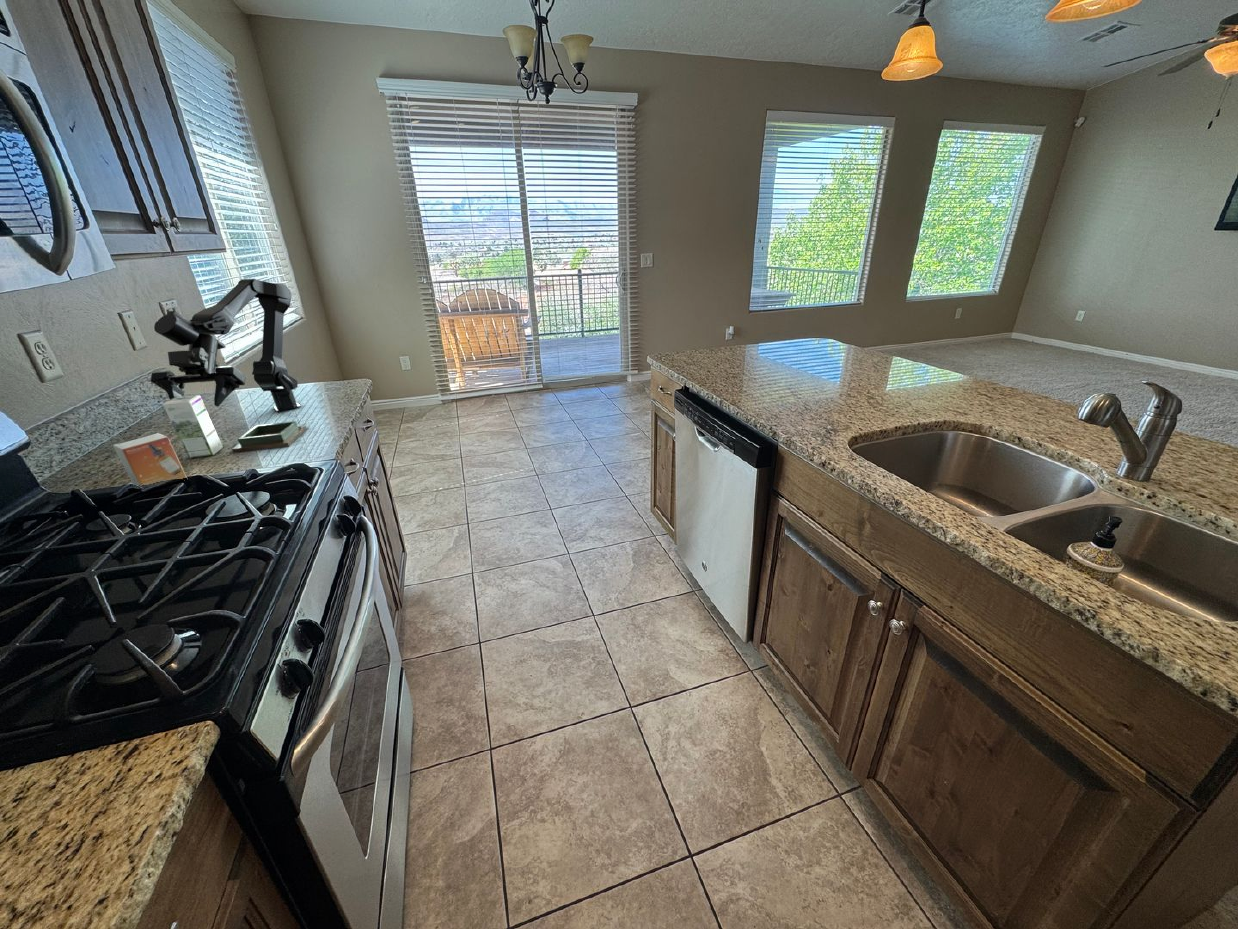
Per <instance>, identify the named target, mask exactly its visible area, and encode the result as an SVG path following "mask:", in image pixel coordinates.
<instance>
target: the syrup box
mask: <svg viewBox="0 0 1238 929" xmlns="http://www.w3.org/2000/svg"><path fill="white" fill-rule="evenodd" d="M162 406H163V409H164V411H165V413H166V414H167V417H168V419H169V421H170V423H171V426H172V427H173V429H174V431H175V434H176V435H177V437H178V440H179V442H180V444H181V446H182V448H183V450H184V452H185V454H186V456H187V458H188V459H193V458H199V457H201V458H202V457H208V456H209V457H210V456H214V455H216V454H217V453H218V452H219V451H220V450H222V449H223V448H224V445H223V444H222V441H221V439H220V436H219V435H218V433H217V431H216V428H215V426H214V424H213V422H212V419H211V417H210V415H209V412H208V410H207V407H206V405H205V403H204V401H203V398H202V396H201V395H200V394H197V395H187V396H183V397H178V398H172V399H168V400H166V401H165V402H163V403H162Z"/></svg>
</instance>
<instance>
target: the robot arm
mask: <svg viewBox="0 0 1238 929" xmlns="http://www.w3.org/2000/svg"><path fill="white" fill-rule="evenodd" d="M292 294H293V293H292V291H291V289H290V288H289V287H288V286H287V285H286V284H285V283H283V282H277V283H275V282H274V283H273V282H268V281H263V280H260V279H256V278H242V279H240V280H238V281H237V284H236V285H235V286H234V287H233V288H232V289H231V290H230V291H229V292H227V293H226V295H224V296H223V297H222V298H221V299H220V300H219V301H218V302H217V303H216V304H214V305H212V306H209V307H207V308H203V309H202V310H200V311H198V312H196V313H194V314H193V316H192V317H191V319H188V318H186V317H184V316H183V315H182V314H181V313H180V312H177V311H176V310H167V312H166V314H165V315H163V316H161V317H160V318H159V319H158V320H157V321H156V322H155V323H154V325H153V326H154V327H153V329H154V331H155V332H156V333H157V334H159V335H160V336H162V337H164V338H166V339H168V341H171V342H173V343H174V344H177V345H178V346H182V347H185V346H188V349H187V350H173V351H167V358H168V364H169V366H170V367H172V366H174V367H177V368H178V371H179V372H181V373H184V374H178V375H177V374H176V373H174V372H173V371H171V370H164V371H162V370H161V371H154V372H152V373H151V374H150V379H149V382H151V383H153V384H154V385H156V386H157V387H159V388H160V389H162V390H163V391H165V392H166V393H167V396H168V400H170V399H172V398H178V397H184V395H185V390H183V389H185V385H186V384H192V383H209V382H215V388H214V390H215V391H214V398H213V405H214V406H215V407H216V408H217V407H218V408H219V407H220V406H221V404H223V402H224V401H225V400H226V399H227V398H228V397H229V396H230V394H231V393H233V392H234V391H235V390H236V389H239V388H240V386H245V385H246V376H245V375H244V374H243V373H242V372H241V371H240V370H239V369H237V368H236V367H235V366H234V365H223V366H220V362H218V361H217V357H218V350H222V349H225V348H226V345H225V343H224V342H223V341H221V340H220V338H216V337H214V336H215V335H216V336H219V335H227V334H228V333H230V331H231V329H232V328H233V326H234V325H235V318H236V316H237V315H238V314H239V313H240V312H241V311H242V310H243V309H244V308H245V307H246V306H247V305H248V304H249V303H250V302H251V301H252V300H253V299H254V298H256V299H257V300H258V303H259V305H260V306H261V308H262V310H263V328H262V348H261V351H262V352H261V357H260V359H259V360H254V361H253V363H252V373H251V375H253V380H254V382H256V384H257V385H258V386H259V387H260V389H261V390H262V391H263V392H270V394H271V396H272V400H273V403H274V406H273V409H274V410H275V411H276V412H277V413H279V412H284V411H289V410H294V409H297V408H298V409H299V408H301V405H300V404H299V403H298V402H297V399H296V397H295V394H294V391H293V390H296V389H297V388H298V387H299V385H298V380H297V379H295V378H294V377H293V376H291V375H290V374H288V373H289V372H288V367H287V366H286V364H285V362H284V360H283V341H284V335H283V334H284V320H285V319H284V317H285V313H286V312H287V310H288V309H289V308H290V307H291V302H292V297H293V295H292Z"/></svg>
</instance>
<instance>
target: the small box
mask: <svg viewBox="0 0 1238 929" xmlns="http://www.w3.org/2000/svg"><path fill="white" fill-rule="evenodd" d="M112 447H113V449H114V451H115V453H116V455H117V456H118V459H119V460H120V462H121V464H122V467H123V468H124V470H125V472H126V474H127V475H128V477H129V479H130V482H131V483H132V485H133V486H134V485H140V486H142V485H149V484H153V483H156V482H160V481H166V480H171V479H183V478H187V479H188V477H187V475H186V473H185V470H184V468H183V466H182V464H181V462H180V460H179V458H178V455H177V453H176V452H175V449H174V447H173V445H172V443H171V441H170V439H169V437H168V436H166V435H164V434H161V433H159V432H157V433H153V434H150V435H147V436H142V437H140V438H135V439H132V440H128V441H123V442H121V443H115V444H113V445H112Z"/></svg>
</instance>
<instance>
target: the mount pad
mask: <svg viewBox="0 0 1238 929" xmlns="http://www.w3.org/2000/svg"><path fill="white" fill-rule="evenodd" d="M307 429H308V427H307V426H306V425H299V426H298V424H297V421H288V422H277V423H268V424H267V423H266V424H257V425H255V426H253V427H251V429H249V430H248V431H247V432H245V433H244V434H243V435H241V436H240V437H239V438H237V441H238V443H237V444H236V445H235V446H234V447H232V448H231V451H232V453H233V454H234V453H242V452H252V451H261V450H270V449H278V448H288V447H290V446H291V445H292V444H293V443H295V441H296V440H298V438H299V437H300V436H301V435H303V434H304V432H306V430H307Z"/></svg>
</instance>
